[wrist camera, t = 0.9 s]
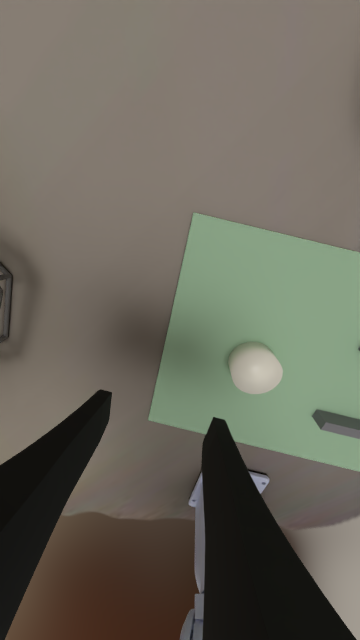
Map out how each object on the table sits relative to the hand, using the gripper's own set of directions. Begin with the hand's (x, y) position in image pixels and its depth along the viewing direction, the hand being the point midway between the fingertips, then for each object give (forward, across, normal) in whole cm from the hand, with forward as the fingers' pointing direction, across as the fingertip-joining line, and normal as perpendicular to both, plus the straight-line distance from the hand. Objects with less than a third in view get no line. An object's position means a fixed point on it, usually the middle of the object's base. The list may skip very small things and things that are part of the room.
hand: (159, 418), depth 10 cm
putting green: (+8, -12, 0) cm, 15 cm away
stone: (+8, -7, 0) cm, 11 cm away
